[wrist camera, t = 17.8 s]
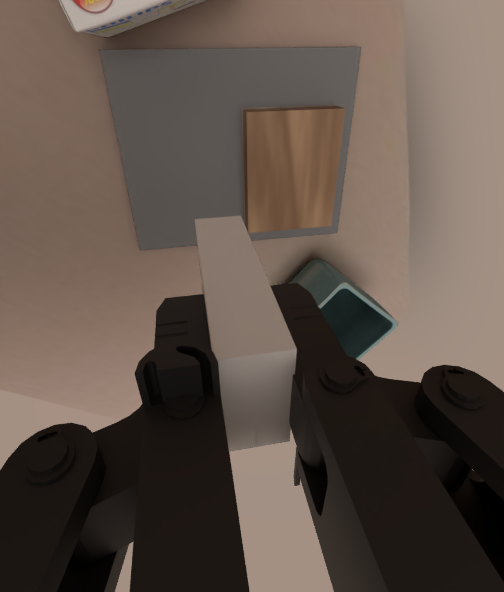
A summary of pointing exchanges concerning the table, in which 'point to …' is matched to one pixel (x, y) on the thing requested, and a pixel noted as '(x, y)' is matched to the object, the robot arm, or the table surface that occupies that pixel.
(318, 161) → the walnut tile
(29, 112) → the table surface
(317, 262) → the flower pot
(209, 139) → the mat
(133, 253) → the table surface
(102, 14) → the light bulb box
